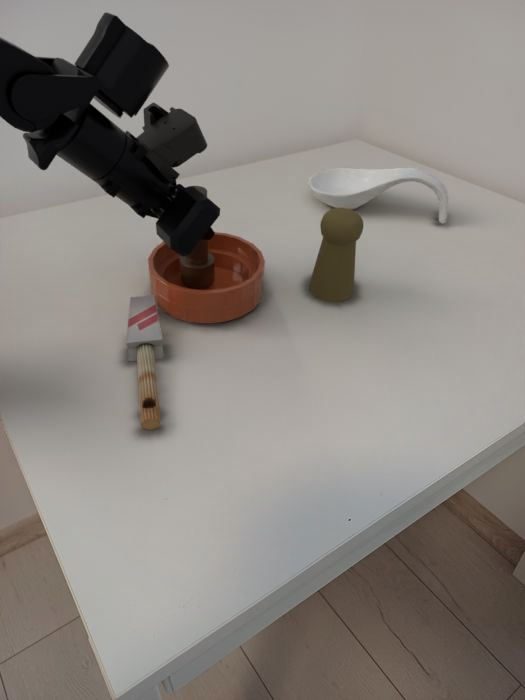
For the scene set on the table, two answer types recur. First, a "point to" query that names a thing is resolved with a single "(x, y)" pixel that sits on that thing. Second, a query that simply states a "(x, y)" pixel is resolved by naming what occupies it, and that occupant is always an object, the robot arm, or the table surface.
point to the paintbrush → (145, 355)
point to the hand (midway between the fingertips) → (206, 230)
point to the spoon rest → (370, 186)
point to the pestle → (198, 263)
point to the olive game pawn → (336, 255)
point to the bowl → (223, 294)
